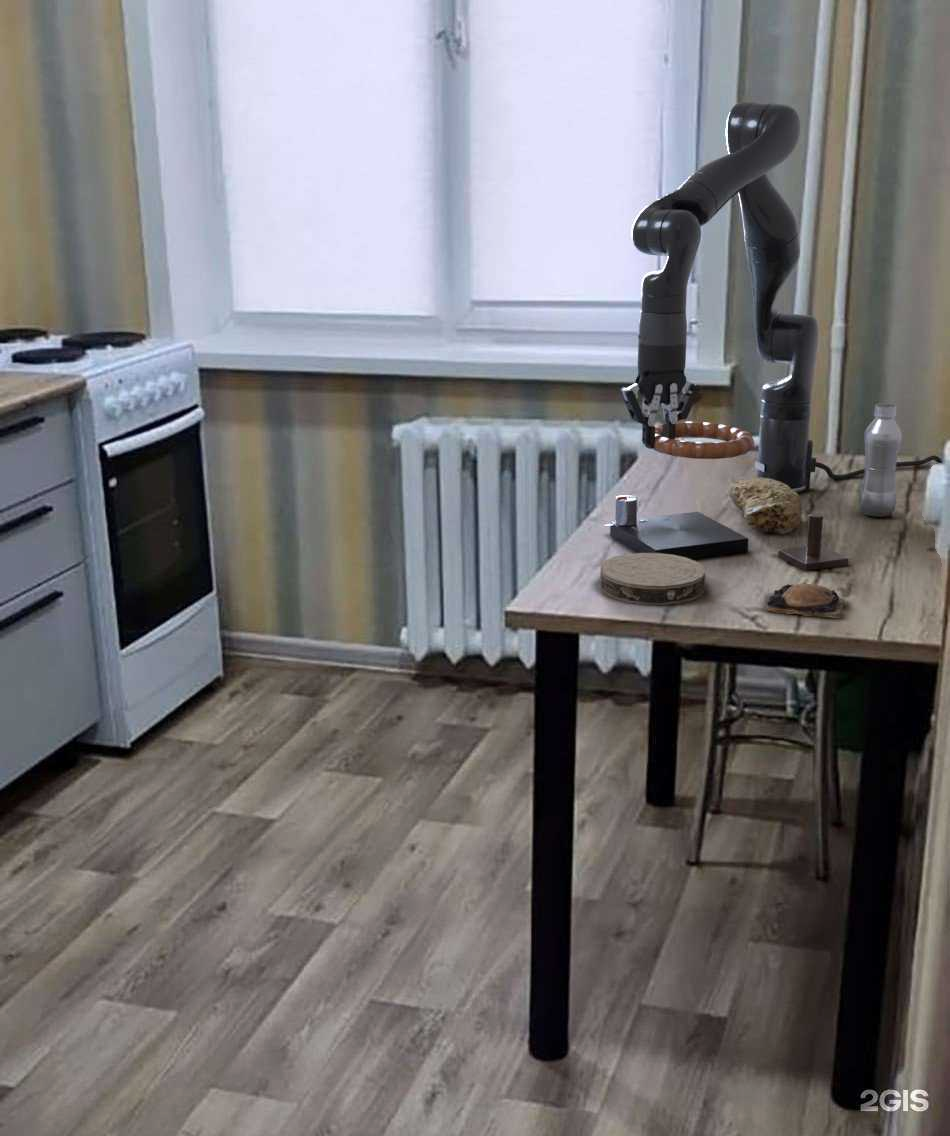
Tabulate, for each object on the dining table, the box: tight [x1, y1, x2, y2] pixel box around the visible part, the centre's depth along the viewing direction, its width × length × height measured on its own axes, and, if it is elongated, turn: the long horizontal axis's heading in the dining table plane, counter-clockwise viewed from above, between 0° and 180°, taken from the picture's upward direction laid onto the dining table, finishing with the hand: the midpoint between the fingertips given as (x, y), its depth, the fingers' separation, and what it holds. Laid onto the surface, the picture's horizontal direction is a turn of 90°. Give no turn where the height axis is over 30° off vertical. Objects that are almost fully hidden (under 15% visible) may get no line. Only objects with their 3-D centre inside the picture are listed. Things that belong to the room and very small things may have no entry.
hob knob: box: [614, 494, 638, 526], centre depth 232 cm, size 4×4×5 cm
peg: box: [777, 512, 850, 572], centre depth 219 cm, size 8×8×8 cm
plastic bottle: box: [858, 402, 903, 518], centre depth 241 cm, size 6×7×20 cm
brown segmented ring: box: [652, 421, 755, 460], centre depth 223 cm, size 17×17×3 cm
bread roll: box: [765, 582, 846, 619], centre depth 200 cm, size 11×8×4 cm
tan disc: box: [599, 552, 706, 606], centre depth 209 cm, size 16×16×3 cm
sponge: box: [729, 477, 804, 535], centre depth 242 cm, size 13×8×20 cm
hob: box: [604, 511, 749, 561], centre depth 230 cm, size 19×19×3 cm
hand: (658, 446), depth 220 cm, fingers closed on brown segmented ring, 2 cm apart
